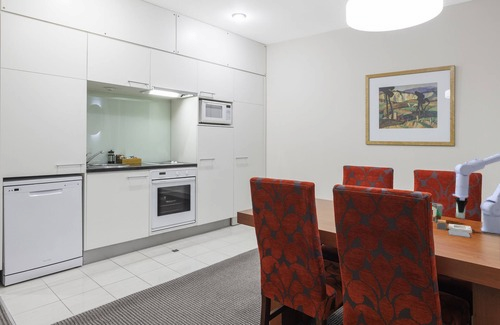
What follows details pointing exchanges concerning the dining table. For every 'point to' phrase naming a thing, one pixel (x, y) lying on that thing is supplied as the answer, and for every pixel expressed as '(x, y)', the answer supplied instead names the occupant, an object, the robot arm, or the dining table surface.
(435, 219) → the food container
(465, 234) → the mat
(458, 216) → the cylinder
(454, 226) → the filter housing
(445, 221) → the release plunger
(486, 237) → the dining table surface
